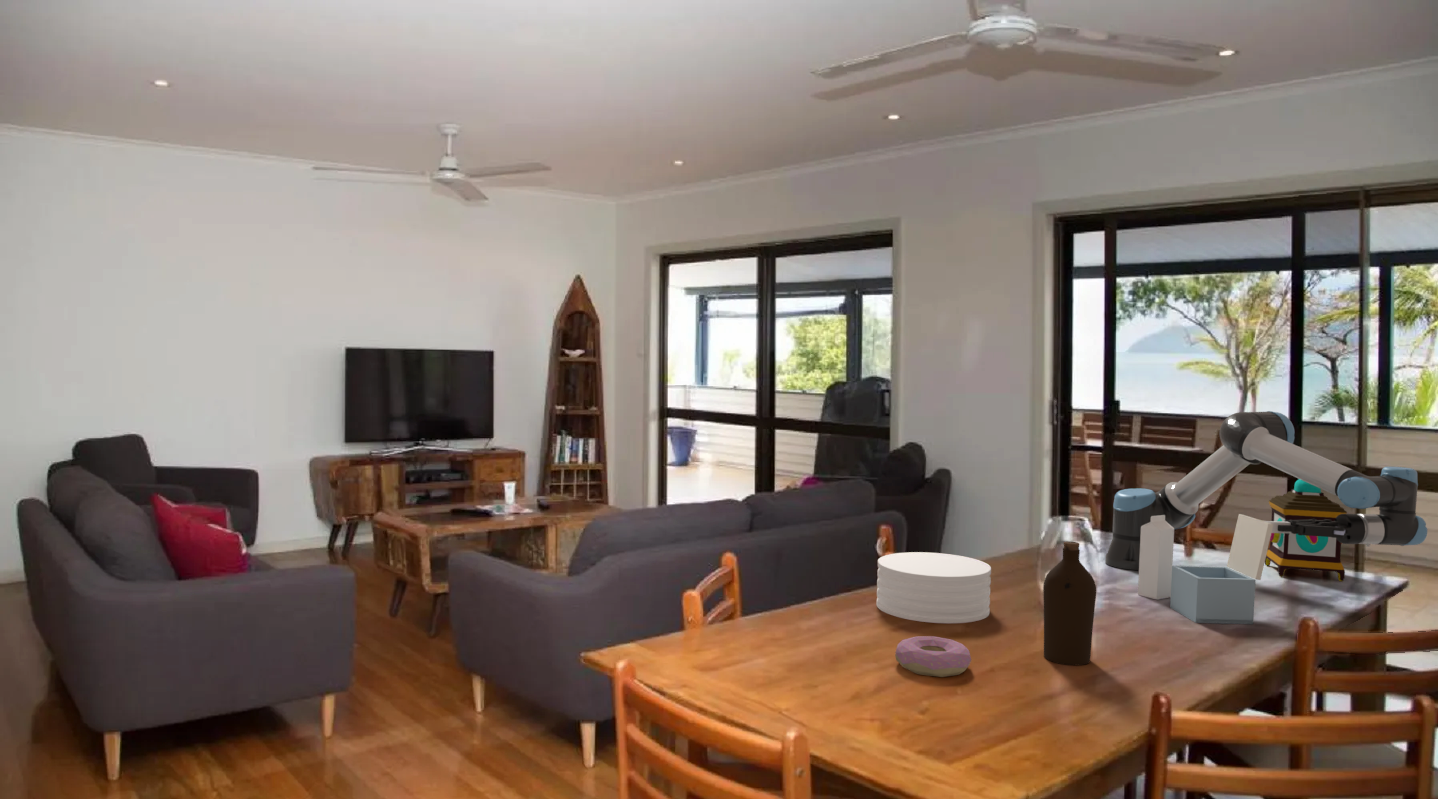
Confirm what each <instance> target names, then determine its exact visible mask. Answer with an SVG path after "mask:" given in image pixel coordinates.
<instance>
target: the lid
mask: <svg viewBox="0 0 1438 799" xmlns="http://www.w3.org/2000/svg"><path fill="white" fill-rule="evenodd" d="M1264 521H1265V520H1261V519H1258V518H1254V517H1253V516H1248V515H1245V514H1241V513H1238V517H1237V521H1236V524H1235V529H1234V534H1233V538H1232V543H1231V547H1230V551H1229V555H1228V560H1227V564H1226V567H1228V568H1230V569H1232V570H1235V571H1237V572H1239V573H1241V574H1244V575H1246V576H1248V577H1250V578H1253V579H1255V580H1257V581H1261V579H1262V574H1263V571H1264V566H1265V558H1266V554H1267V551H1268V549H1269V546H1270V537H1271V533H1272V528H1273V524H1270V523H1267V522H1264Z"/></svg>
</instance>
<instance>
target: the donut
mask: <svg viewBox="0 0 1438 799" xmlns="http://www.w3.org/2000/svg"><path fill="white" fill-rule="evenodd" d="M894 653H895V654H894V657H895V660H896V662H898V663H899V664H900V666H901V667H902V668H903V669H906V670H908V671H910V672H912V673H915V674H917V675H922V676H929V677H930V676H931V677H940V678H945V677H951V676H957V675H958V676H959V675H960V674H963V672H965V671H966V670H967V669H968V667H970V664H971V662H972V657H971V653H970V650H969V649H968V647H967V646H965V645H964V644H963V643H961V642H958V641H956V640H954V639H949V638H945V637H939V636H934V635H933V636H932V635H928V636H927V635H926V636H925V635H924V636H923V635H922V636H918V635H917V636H913V637H909V638H905V639H902V640H901V641H900V642H899V643H897V645H896V649H895V652H894Z"/></svg>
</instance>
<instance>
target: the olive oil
mask: <svg viewBox="0 0 1438 799" xmlns="http://www.w3.org/2000/svg"><path fill="white" fill-rule="evenodd" d="M1080 551H1081V550H1080V543H1079V542H1077V541H1069V540H1068V541H1063V548H1062V559H1061V560H1060V561H1059V562H1058V563H1057V564H1056V565H1054V567H1053V568H1051V569H1050V570H1049V571H1048V572H1047V574H1046V576H1045V578H1044V581H1043V587H1042V590H1043V592H1042V595H1043V657H1044V658H1045V659H1046V660H1048V661H1050V662H1053V663H1055V664H1061V665H1065V666H1066V665H1067V666H1082V665H1083V666H1084V665H1087V664H1089V663H1090V662H1091V657H1092V656H1091V655H1092V644H1093V642H1092V641H1093V630H1094V629H1093V628H1094V617H1095V610H1096V609H1095V607H1096V601H1097V600H1096V599H1097V598H1096V597H1097V585H1096V581H1095V580H1094V577H1093V575H1092V574H1091V573H1090V571H1088V569H1086V568H1085V566H1084V565H1083V564H1082V563H1081V561H1080V553H1081V552H1080Z"/></svg>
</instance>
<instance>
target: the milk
mask: <svg viewBox="0 0 1438 799" xmlns="http://www.w3.org/2000/svg"><path fill="white" fill-rule="evenodd" d="M1174 539H1175V529H1174V528H1173V527H1172V526H1171V525H1170V524H1169V523H1167V522H1166V521H1165V515H1159V516H1151V521H1150V522H1149V523H1147V524H1145V525H1143V526H1141V536H1140V558H1139V570H1138V583H1137V585H1138V586H1137V595H1138V596H1141V597H1144V598H1145V597H1146V598H1149V599H1152V600H1162V599H1163V600H1164V599H1168V598H1170V599H1171V580H1172V566H1174V565H1173V563H1174V562H1173V561H1174V559H1173V558H1174V541H1175V540H1174Z"/></svg>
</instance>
